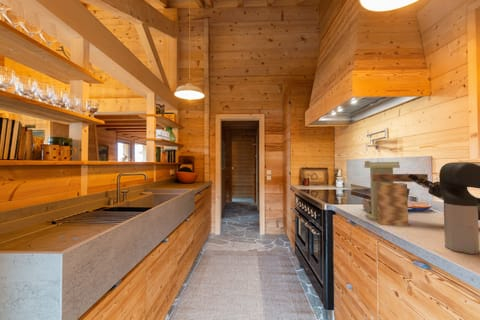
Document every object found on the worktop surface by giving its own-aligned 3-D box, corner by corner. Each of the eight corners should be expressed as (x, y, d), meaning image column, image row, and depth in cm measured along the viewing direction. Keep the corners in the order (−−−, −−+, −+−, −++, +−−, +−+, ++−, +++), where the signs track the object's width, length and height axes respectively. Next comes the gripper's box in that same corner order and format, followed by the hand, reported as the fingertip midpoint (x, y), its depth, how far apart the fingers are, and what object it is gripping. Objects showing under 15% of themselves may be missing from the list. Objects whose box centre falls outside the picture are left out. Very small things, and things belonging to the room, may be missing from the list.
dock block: (403, 222, 120) (402, 182, 120) (409, 226, 112) (408, 184, 112) (376, 220, 125) (375, 182, 125) (380, 224, 116) (379, 183, 117)
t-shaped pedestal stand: (395, 218, 130) (394, 160, 130) (401, 222, 120) (399, 160, 121) (365, 216, 135) (364, 161, 136) (368, 219, 126) (367, 161, 127)
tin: (375, 214, 139) (375, 201, 139) (370, 214, 140) (370, 201, 140) (366, 209, 154) (366, 197, 154) (362, 209, 154) (361, 197, 154)
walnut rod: (424, 181, 115) (424, 173, 115) (427, 182, 111) (427, 174, 111) (372, 180, 124) (372, 173, 124) (374, 181, 120) (373, 174, 120)
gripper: (446, 200, 104) (408, 182, 110) (432, 196, 118) (399, 180, 123) (455, 187, 103) (416, 169, 109) (440, 184, 117) (406, 168, 122)
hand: (407, 175), depth 116 cm, fingers closed on walnut rod, 4 cm apart
